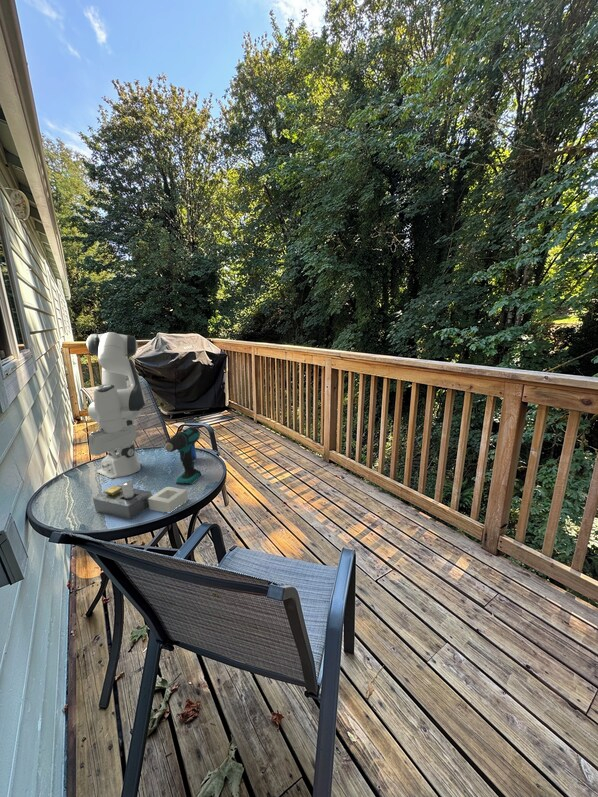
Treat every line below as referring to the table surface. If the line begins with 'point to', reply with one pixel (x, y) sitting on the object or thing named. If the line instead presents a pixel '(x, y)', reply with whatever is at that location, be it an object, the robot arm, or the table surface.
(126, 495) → the metal cylinder
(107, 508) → the socket block
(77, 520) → the table surface
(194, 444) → the blue upright block
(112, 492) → the wooden tenon block
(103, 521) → the table surface
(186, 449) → the power drill
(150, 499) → the cream square open frame
